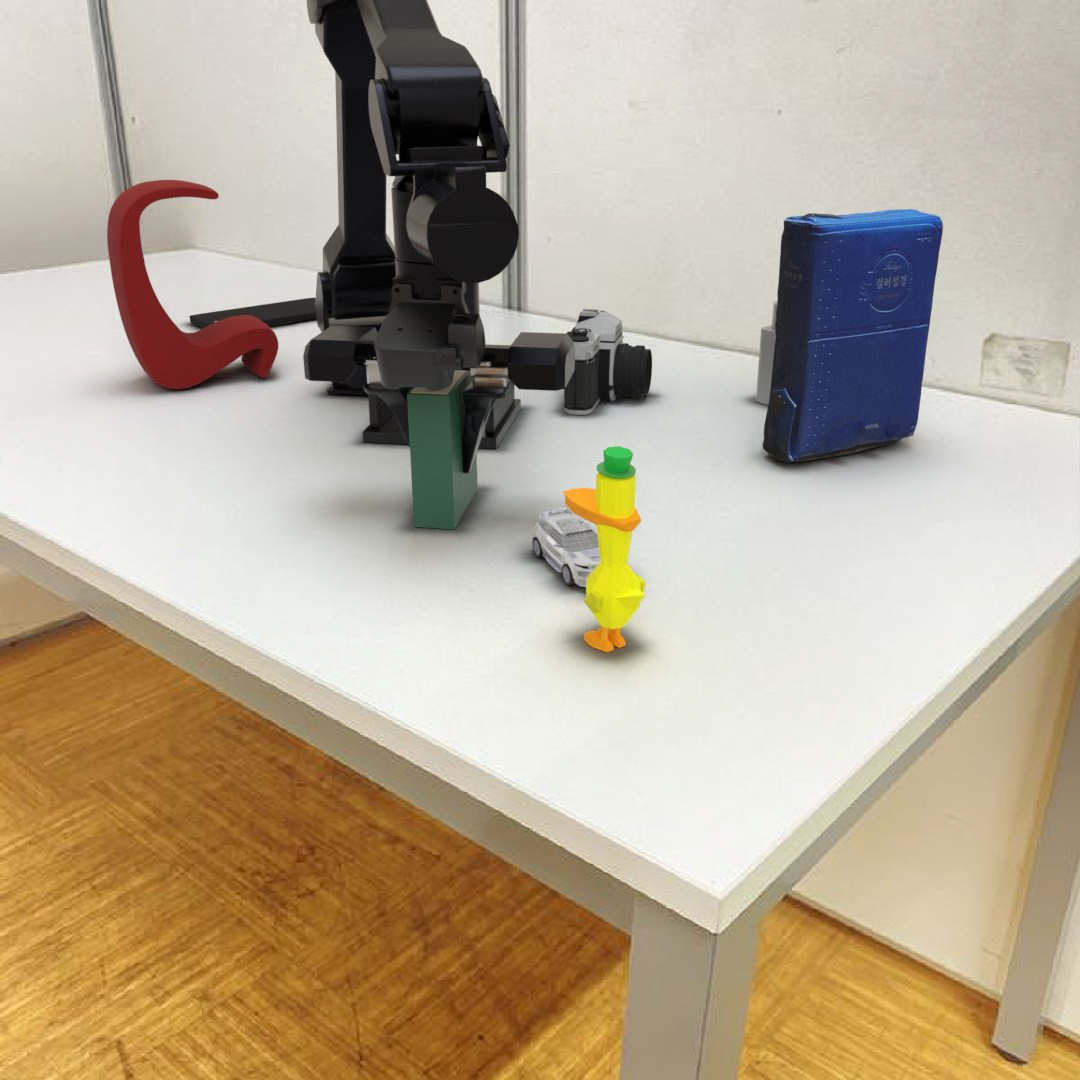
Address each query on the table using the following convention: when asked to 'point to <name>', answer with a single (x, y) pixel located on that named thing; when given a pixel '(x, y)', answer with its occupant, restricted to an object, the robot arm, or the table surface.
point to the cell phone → (264, 313)
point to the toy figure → (611, 546)
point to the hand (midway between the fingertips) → (445, 470)
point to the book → (850, 331)
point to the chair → (145, 321)
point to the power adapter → (766, 360)
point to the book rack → (390, 432)
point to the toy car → (567, 545)
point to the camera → (604, 364)
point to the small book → (439, 454)
